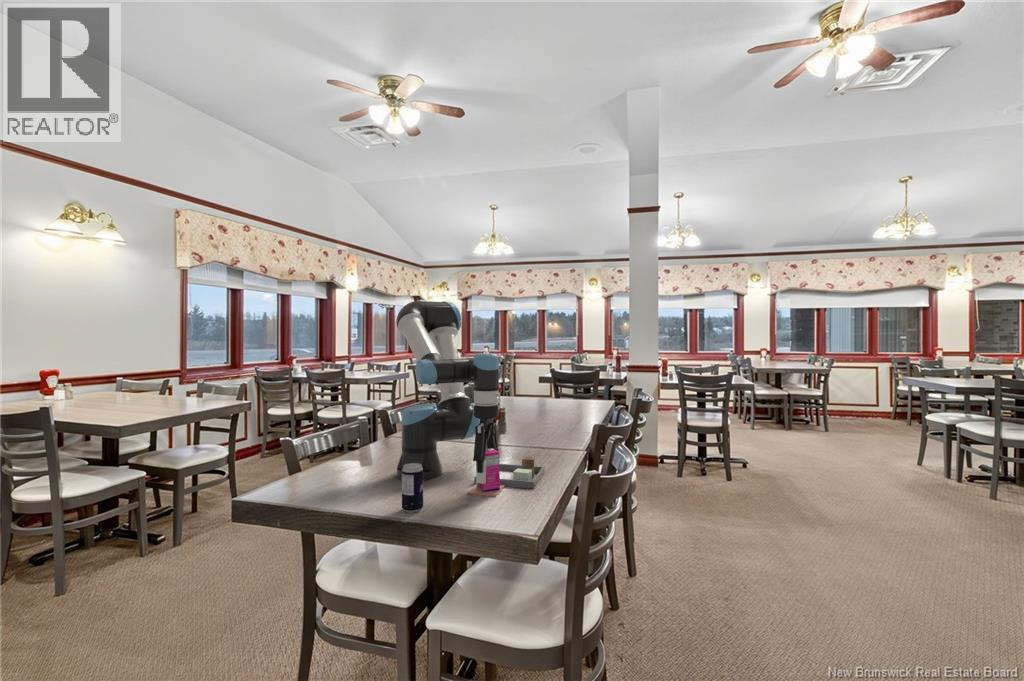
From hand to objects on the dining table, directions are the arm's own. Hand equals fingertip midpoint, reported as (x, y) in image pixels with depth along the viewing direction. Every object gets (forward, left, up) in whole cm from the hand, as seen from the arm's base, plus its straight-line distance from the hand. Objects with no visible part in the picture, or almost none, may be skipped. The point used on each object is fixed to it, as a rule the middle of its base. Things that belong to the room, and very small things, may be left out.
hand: (486, 477), depth 142 cm
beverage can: (-14, -20, -4) cm, 25 cm away
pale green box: (+9, +10, -4) cm, 14 cm away
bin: (+4, +14, -4) cm, 15 cm away
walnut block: (+9, +18, -4) cm, 20 cm away
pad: (0, 0, -4) cm, 4 cm away
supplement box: (+1, 0, -3) cm, 3 cm away
